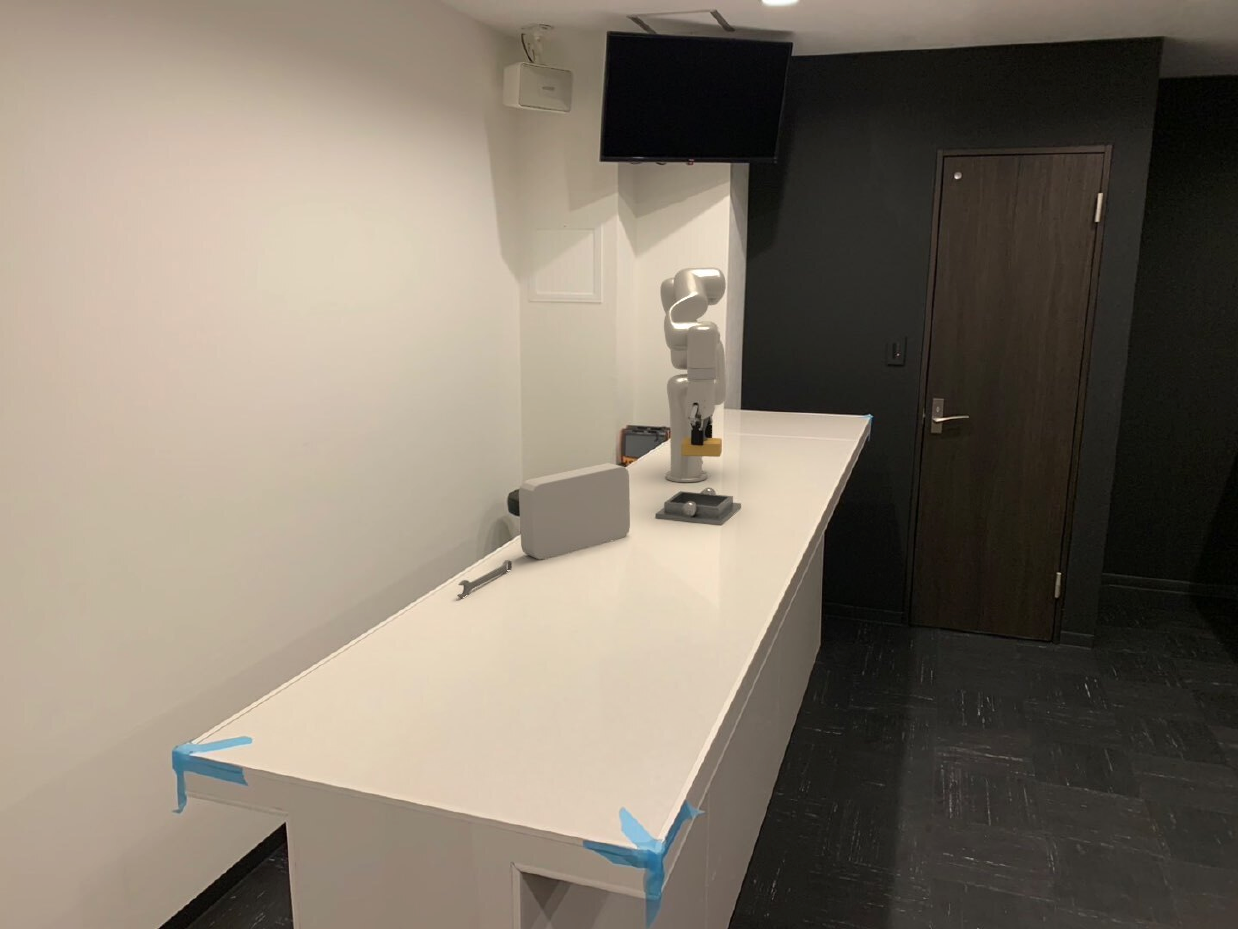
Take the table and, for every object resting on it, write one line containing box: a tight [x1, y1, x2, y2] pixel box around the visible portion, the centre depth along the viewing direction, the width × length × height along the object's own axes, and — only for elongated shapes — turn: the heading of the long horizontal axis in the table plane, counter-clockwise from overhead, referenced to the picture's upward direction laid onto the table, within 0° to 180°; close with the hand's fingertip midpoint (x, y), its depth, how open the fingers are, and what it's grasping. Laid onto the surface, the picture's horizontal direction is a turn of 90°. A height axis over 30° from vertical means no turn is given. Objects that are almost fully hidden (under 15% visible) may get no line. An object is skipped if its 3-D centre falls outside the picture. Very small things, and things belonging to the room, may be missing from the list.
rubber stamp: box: [682, 416, 723, 458], centre depth 244 cm, size 10×6×12 cm, turn 79°
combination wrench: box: [457, 559, 513, 599], centre depth 200 cm, size 4×1×20 cm
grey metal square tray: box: [655, 487, 742, 526], centre depth 248 cm, size 17×18×5 cm
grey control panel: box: [518, 462, 631, 560], centre depth 223 cm, size 29×8×18 cm, turn 129°
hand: (701, 441), depth 244 cm, fingers closed on rubber stamp, 6 cm apart
